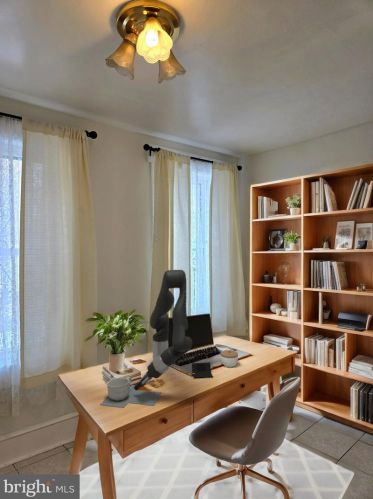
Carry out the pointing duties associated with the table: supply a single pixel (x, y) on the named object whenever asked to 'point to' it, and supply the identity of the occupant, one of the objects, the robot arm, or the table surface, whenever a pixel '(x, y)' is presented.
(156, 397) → the t mat
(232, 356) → the lidded jar
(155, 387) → the table surface
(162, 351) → the robot arm
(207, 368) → the handheld gaming console
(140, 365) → the table surface
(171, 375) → the table surface
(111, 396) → the teacup
